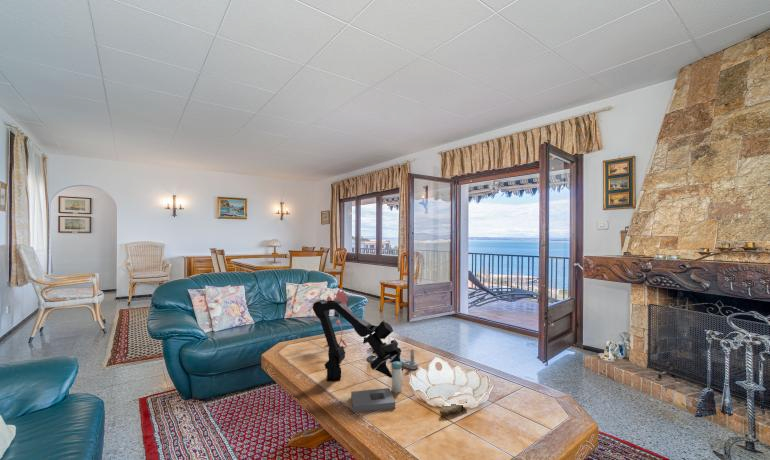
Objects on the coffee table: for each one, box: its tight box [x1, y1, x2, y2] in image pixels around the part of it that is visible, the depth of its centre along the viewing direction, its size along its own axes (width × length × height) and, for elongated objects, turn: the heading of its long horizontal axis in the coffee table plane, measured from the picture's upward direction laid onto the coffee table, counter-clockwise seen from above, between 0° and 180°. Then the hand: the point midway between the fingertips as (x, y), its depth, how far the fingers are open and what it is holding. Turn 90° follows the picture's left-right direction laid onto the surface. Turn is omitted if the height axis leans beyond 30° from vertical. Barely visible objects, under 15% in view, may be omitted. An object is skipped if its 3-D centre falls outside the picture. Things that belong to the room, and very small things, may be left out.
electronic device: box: [400, 348, 419, 370], centre depth 189 cm, size 5×10×15 cm
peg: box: [391, 361, 403, 394], centre depth 159 cm, size 4×4×12 cm
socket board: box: [350, 387, 396, 413], centre depth 148 cm, size 17×13×2 cm
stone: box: [439, 396, 463, 418], centre depth 140 cm, size 14×7×5 cm, turn 139°
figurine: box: [326, 289, 353, 347], centre depth 224 cm, size 15×26×35 cm, turn 46°
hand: (397, 373), depth 159 cm, fingers open, 9 cm apart
